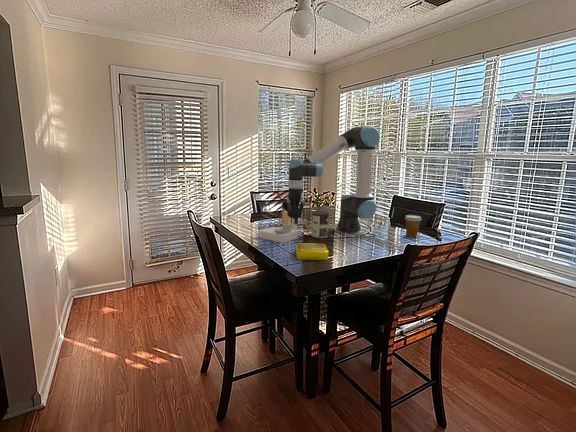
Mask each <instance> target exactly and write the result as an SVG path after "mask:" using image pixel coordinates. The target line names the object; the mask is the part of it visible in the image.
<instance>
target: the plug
mask: <svg viewBox="0 0 576 432" xmlns="http://www.w3.org/2000/svg"><path fill="white" fill-rule="evenodd" d="M290 224H291V218H290V217H288V214H287V211H284V212H283V226H286V225H290ZM291 225H292V224H291ZM283 226H282V227H283Z"/></svg>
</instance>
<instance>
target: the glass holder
mask: <svg viewBox="0 0 576 432" xmlns="http://www.w3.org/2000/svg"><path fill="white" fill-rule="evenodd" d="M281 205H282V206H281V223H280V226H282V227H283V212H284V211H287V208H286V203H285V201H284V202H281Z"/></svg>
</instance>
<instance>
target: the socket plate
mask: <svg viewBox="0 0 576 432" xmlns="http://www.w3.org/2000/svg"><path fill="white" fill-rule="evenodd" d="M279 228H280V227H278V226H272V227H271V226H270V227H268V228H264V229H260V230H258V238H260V239H263V240H267V241H269V240H270V241H273V242H277V243H281V244H284V243H287V242H290V241H293V240H296V239H298V237H299V235H298V233H299V232H298V230H292V231H291V232H288V233H279V232H274V230H276V229H279Z"/></svg>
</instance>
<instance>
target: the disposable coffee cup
mask: <svg viewBox="0 0 576 432" xmlns="http://www.w3.org/2000/svg"><path fill="white" fill-rule="evenodd" d="M404 219H405V233H406V236H407V237H411V238H412V237H413V238H416V237H418V233H419V229H420V226H421V221H422V217H421V216H420V215H414V214H408V215H407V214H406V215H405V217H404Z"/></svg>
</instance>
